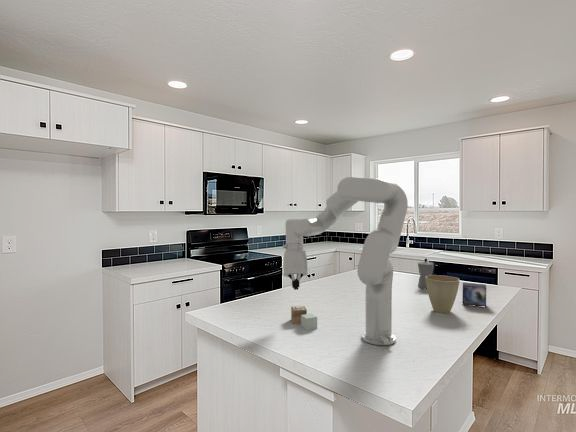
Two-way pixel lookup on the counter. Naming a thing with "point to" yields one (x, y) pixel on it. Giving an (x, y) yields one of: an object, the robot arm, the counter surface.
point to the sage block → (309, 321)
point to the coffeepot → (425, 272)
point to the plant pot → (442, 292)
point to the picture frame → (474, 294)
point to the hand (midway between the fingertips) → (295, 289)
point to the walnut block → (297, 314)
